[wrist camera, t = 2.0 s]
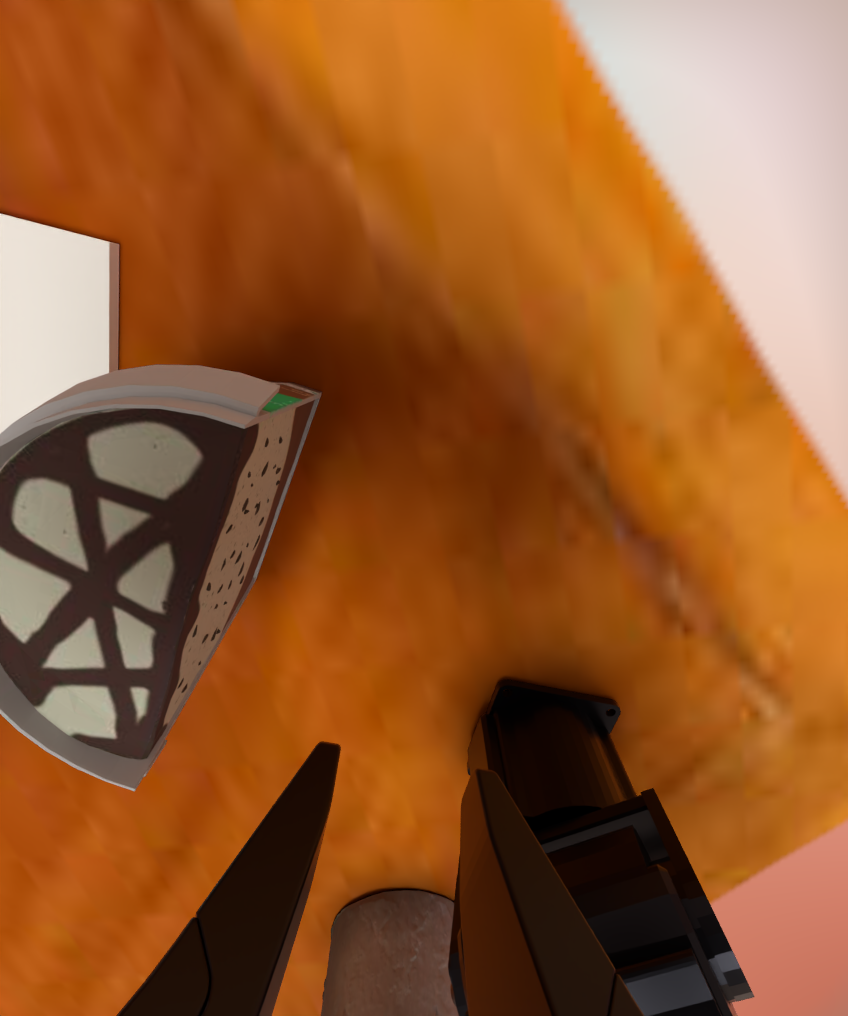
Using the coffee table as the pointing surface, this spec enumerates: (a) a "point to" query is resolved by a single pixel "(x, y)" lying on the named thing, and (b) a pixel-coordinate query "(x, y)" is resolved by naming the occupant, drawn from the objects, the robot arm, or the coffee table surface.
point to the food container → (133, 549)
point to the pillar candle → (391, 957)
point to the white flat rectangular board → (53, 313)
